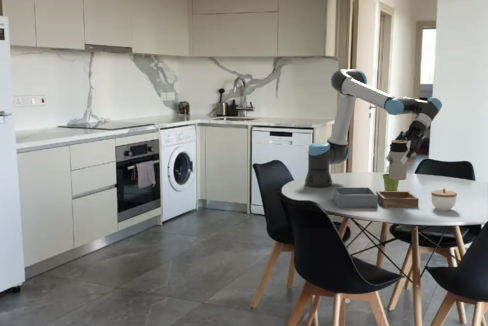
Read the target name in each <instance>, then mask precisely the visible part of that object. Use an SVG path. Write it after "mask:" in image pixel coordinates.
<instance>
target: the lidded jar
mask: <svg viewBox="0 0 488 326" xmlns="http://www.w3.org/2000/svg"><path fill="white" fill-rule="evenodd" d="M430 195H431V197H430V198H431V202H432V205H433V207H434V208H435V209H436V210H437V211H442V212H443V211H444V212H446V211H447V212H448V211H451V209H453V208H454V206H455V205H456V202H457V195H458V194H457V192H455V191H453V190H446V188H442V189H439V190H438V189H436V190H432V191H431V194H430Z"/></svg>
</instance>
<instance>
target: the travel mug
mask: <svg viewBox="0 0 488 326" xmlns="http://www.w3.org/2000/svg"><path fill="white" fill-rule="evenodd" d="M408 142H409V141H405V140H395V139H393V140H391V141H390V143H392V145H391V147H390V146H389V151H390V162H388V163H389V164H388V167H389V168H388V174H389V178H390V179H392V180H399V181H405V180H406V179H407V172H408V160H407V161H406V162H405V164H402V162H401V161H400V160H401V158H402V157H403V155H404V154H405V153H406V151H407V150H409V148H408Z"/></svg>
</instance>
